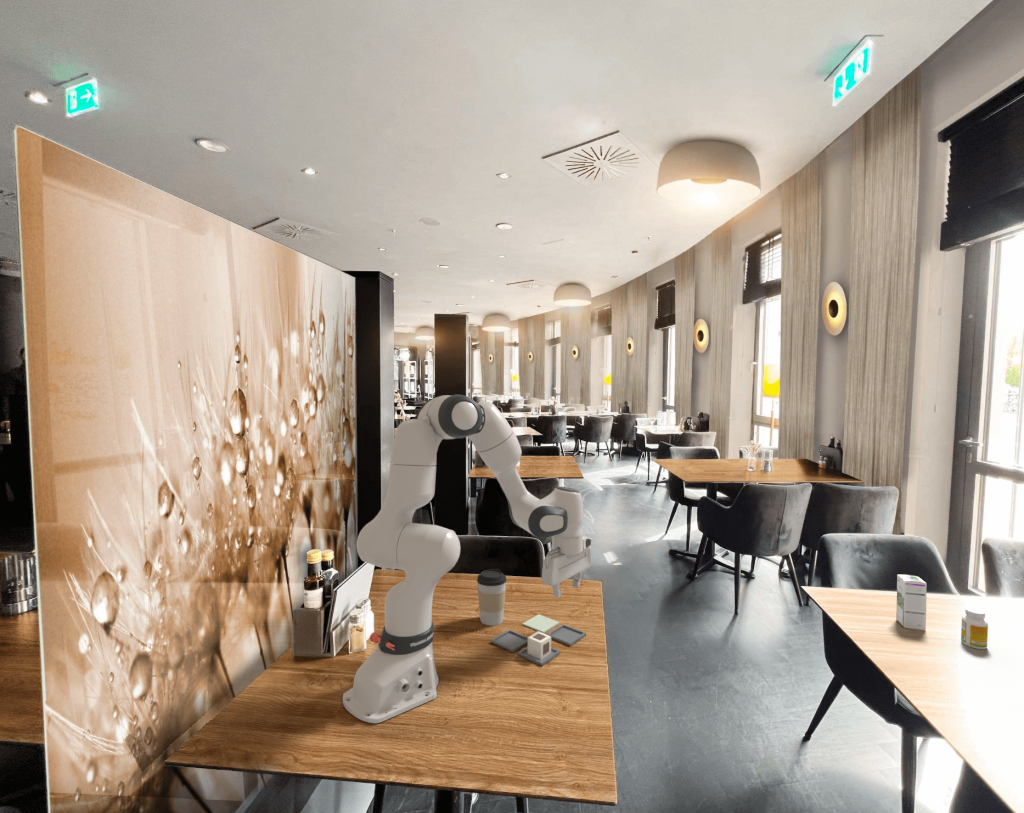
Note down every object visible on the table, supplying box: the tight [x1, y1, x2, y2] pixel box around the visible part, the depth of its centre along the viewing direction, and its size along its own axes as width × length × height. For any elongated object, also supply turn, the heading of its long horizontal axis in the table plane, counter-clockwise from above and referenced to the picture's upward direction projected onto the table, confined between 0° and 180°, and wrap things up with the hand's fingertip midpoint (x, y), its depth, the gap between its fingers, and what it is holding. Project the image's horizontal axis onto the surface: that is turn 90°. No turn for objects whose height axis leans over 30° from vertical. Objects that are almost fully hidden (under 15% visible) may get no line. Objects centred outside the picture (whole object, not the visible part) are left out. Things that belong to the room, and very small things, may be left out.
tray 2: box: [517, 646, 561, 667], centre depth 133 cm, size 8×8×1 cm
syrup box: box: [895, 574, 927, 631], centre depth 151 cm, size 6×6×14 cm
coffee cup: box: [476, 568, 507, 627], centre depth 153 cm, size 9×9×15 cm
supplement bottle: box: [960, 607, 989, 650], centre depth 139 cm, size 5×5×10 cm
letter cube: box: [527, 630, 552, 660], centre depth 133 cm, size 4×5×5 cm
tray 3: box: [546, 623, 587, 647], centre depth 143 cm, size 8×8×1 cm
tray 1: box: [490, 629, 529, 654], centre depth 140 cm, size 8×8×1 cm
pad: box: [522, 613, 560, 634], centre depth 151 cm, size 8×8×1 cm
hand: (567, 591), depth 143 cm, fingers open, 8 cm apart
